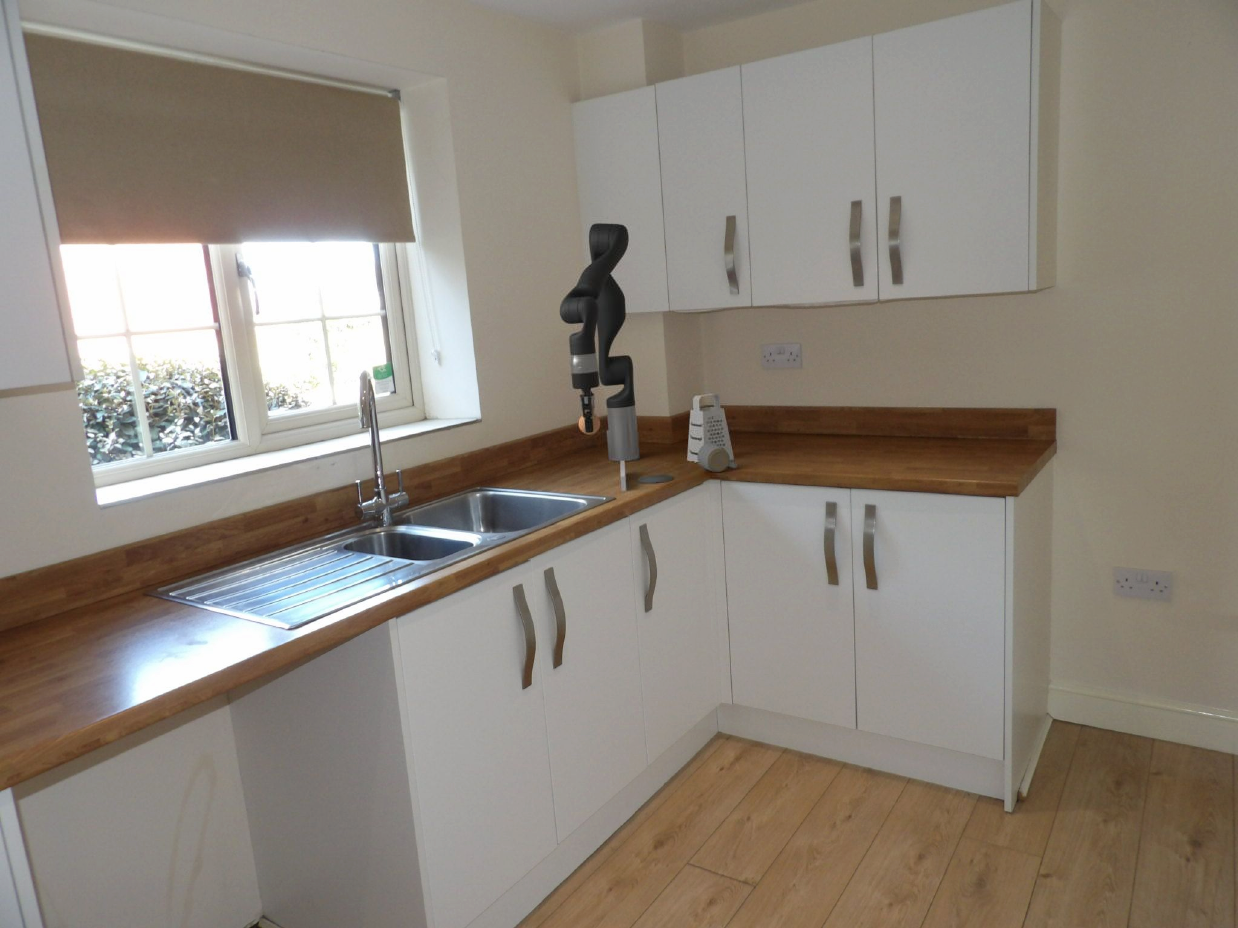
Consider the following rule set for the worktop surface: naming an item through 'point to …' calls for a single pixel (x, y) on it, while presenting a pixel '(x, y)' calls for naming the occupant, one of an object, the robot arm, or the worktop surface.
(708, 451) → the ceramic mug
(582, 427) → the ball
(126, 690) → the worktop surface
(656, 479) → the pad
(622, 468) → the low wall
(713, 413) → the grater
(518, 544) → the worktop surface
